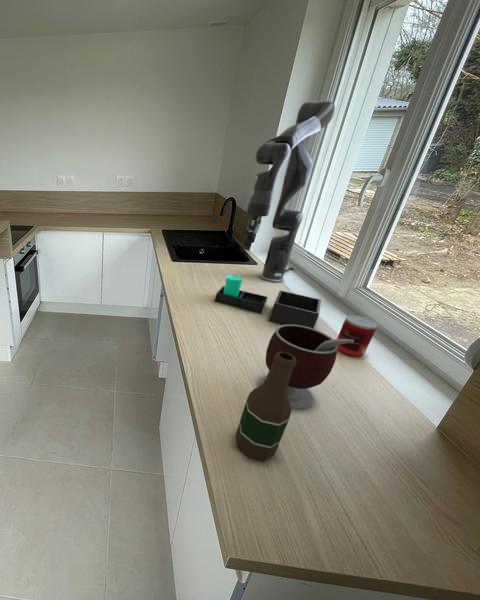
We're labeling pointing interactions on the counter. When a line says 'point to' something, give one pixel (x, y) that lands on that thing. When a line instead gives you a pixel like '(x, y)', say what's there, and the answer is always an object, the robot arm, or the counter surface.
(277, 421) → the beer bottle
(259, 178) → the robot arm
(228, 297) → the black divided tray
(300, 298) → the black open box
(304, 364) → the mate gourd
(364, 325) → the canned food
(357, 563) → the counter surface
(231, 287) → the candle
